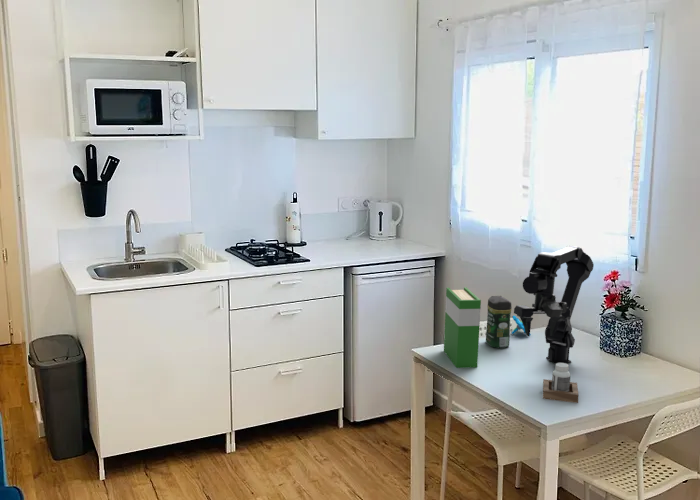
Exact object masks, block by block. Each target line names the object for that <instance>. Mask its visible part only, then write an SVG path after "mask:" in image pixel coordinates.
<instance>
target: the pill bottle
mask: <svg viewBox="0 0 700 500" xmlns="http://www.w3.org/2000/svg"><path fill="white" fill-rule="evenodd" d="M554 368H555V369H554V370H553V371H552V373H551V375H552V376H551V377H552V378H551V380H552V388H551V390H555V391H564V392H569V386H570V382H571V372H570V371H569V370H570V367H569V363H556V364H555V367H554Z"/></svg>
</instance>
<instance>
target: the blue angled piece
mask: <svg viewBox="0 0 700 500" xmlns="http://www.w3.org/2000/svg"><path fill="white" fill-rule="evenodd" d="M512 319H513V321H514V322H515V324H516V327H515V328H514V329H513V330H512V332H511V331H510V332H511V333H510V334H511V335H514V334H515V333H517V331H520V330H522V331H523V332H524V334H526V332H525V329H524V326H523V323H522V321H521V319H519V318H518V316H517V315H512ZM531 335H532V334H531V333H530V335H529V336H528V337H530V336H531Z"/></svg>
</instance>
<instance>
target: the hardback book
mask: <svg viewBox="0 0 700 500" xmlns="http://www.w3.org/2000/svg"><path fill="white" fill-rule="evenodd" d="M445 292H446V293H445V311H444V313H445V315H444V332H443V333H444V335H443V336H444V337H443V339H444V340H443V352H444V353H445V355H446V356H447V358H449V360H450V361H451V363H452V364H453V365H454V366H455V368H456V369H462V368H463V369H465V368H478V364H479V363H478V362H479V361H478V360H479V358H478V357H479V343H480V341H479V340H480V326H481V325H480V324H481V322H480V321H481V306H482V305H481V304H482V300H481V299H480V298H479V297H478V296H477V295H476V294H475V293H473V292H472V291H471V290H470V289H469V288H468V287H463V289H451V288H450V287H446V289H445Z"/></svg>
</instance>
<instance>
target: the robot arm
mask: <svg viewBox="0 0 700 500" xmlns="http://www.w3.org/2000/svg"><path fill="white" fill-rule="evenodd" d="M563 264H565V265H566V272H567V273H566V274H567V275H568V280H567V282H566V285H565V289H564V292H563V294H562V298H561V300H560V302H559V301H557V300H556V298H557V297H556V295H555V294H554V290H555V281H556V278H557V277H558V274H557V272H558V271H559V270H560V269H561V267H562V266H561V265H563ZM594 264H595V263H594V262H593V260H592V258H591V256H589V255H588V254H587V253H586V252H584V249H583V248H582V247H579V246H574V245H567V246H566V247H564V248H562V249H559V250H556V251H554V252H545V251H544V252H538V254H537V255H536V256H535V258H534V261H533V262H532V265H531V268H530V269H529V274H528V276H527V277H525V278H524V279H523V281H522V289H523V291H524V292H525V293H527V294H529V295H534V303H532V305H531V307H530V306H528V305H523V304H521V305H517V304H516V305H515V307H514V308H513V314H515V315H516V317H519V318H520V319H519V320H520V321H521V322H522V323H523V326H524V329H525V332H526V333H525V334H526V337H530V336H531V335H530V334H531V325H532V321H533V320H534V318H533V316H534V315H543V314H544V315H546V317H549V318H548V319H549V320H548V321H547V326H546V327H545V330H544V338H545V343H546V344H549V347H548V349H547V352H548V353H547V356H546V358H545V359H547V360H548V361H549V362H552V363H553V364H555V365H556V363H566V364H570V363H572V360H570V348H571V349H572V348H574V345H575V343H576V342H575V341H576V339H575V337H574V336H573V333H572V330H573V328H572V323H571V318H572V315H573V311H574V308H575V305H576V303H577V300H578V297H579V293H580V290H581V287H582V284H583V283H584V282H585V281H586V280H588V279H589V278H590V276H591V273H592V272H593V270H594ZM529 335H530V336H529Z"/></svg>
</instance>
